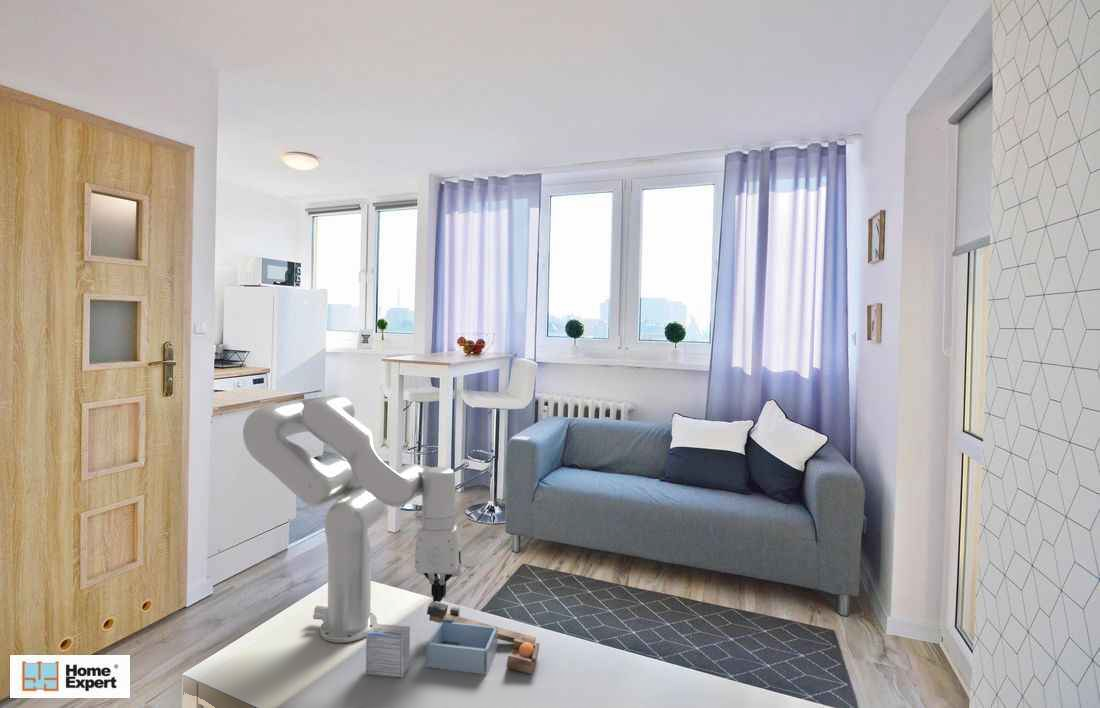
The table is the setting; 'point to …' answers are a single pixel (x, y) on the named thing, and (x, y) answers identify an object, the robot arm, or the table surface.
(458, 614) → the fulcrum
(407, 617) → the table surface
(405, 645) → the medicine box
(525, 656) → the ball
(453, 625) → the bin
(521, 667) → the lever
